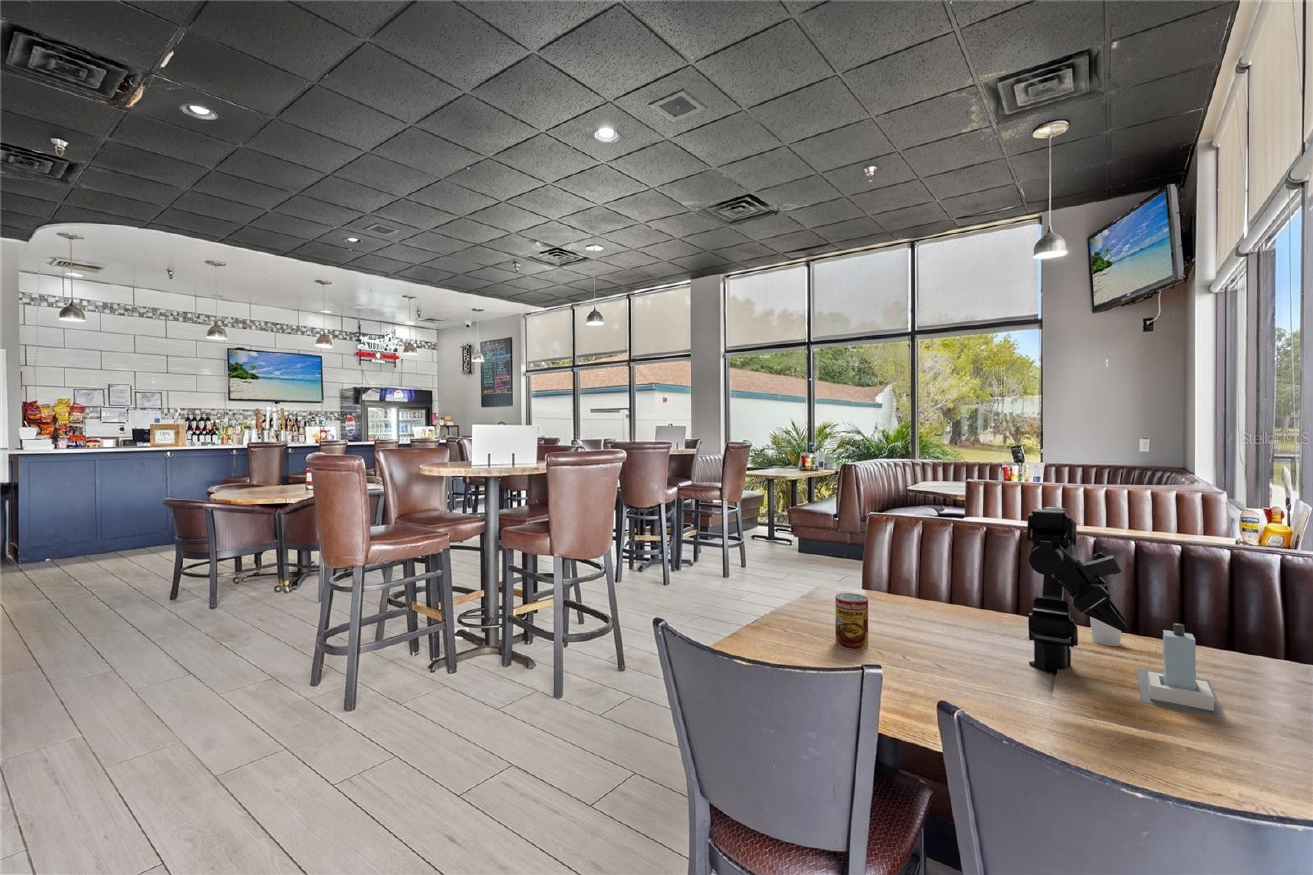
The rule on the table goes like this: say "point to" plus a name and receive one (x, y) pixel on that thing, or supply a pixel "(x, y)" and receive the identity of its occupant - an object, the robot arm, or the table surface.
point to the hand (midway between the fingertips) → (1124, 626)
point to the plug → (1179, 658)
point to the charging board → (1145, 698)
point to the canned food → (851, 621)
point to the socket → (1181, 694)
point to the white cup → (1104, 633)
